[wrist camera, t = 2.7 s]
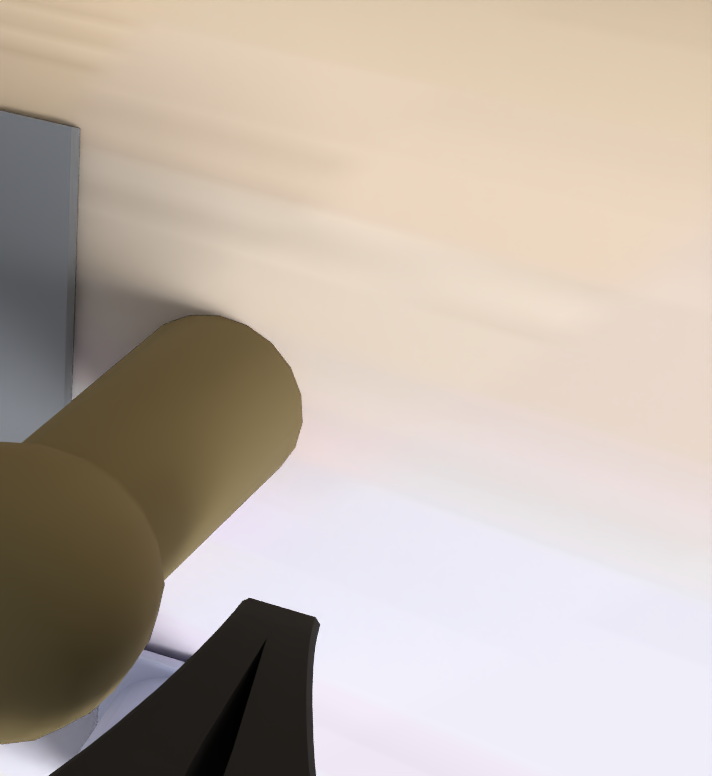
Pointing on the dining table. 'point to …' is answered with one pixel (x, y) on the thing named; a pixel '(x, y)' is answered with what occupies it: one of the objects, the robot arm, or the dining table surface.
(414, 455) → the dining table surface
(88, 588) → the cork
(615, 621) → the dining table surface
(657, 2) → the dining table surface
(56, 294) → the mat
